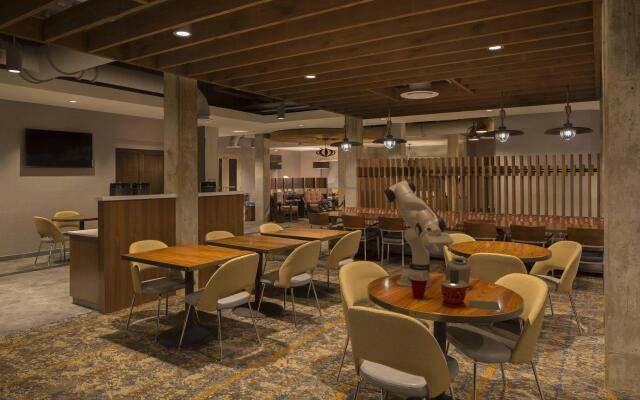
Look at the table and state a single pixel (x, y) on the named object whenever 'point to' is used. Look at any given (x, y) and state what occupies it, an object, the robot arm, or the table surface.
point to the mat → (484, 305)
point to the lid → (454, 280)
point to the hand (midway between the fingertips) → (444, 251)
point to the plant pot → (453, 296)
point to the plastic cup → (418, 286)
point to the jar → (461, 266)
